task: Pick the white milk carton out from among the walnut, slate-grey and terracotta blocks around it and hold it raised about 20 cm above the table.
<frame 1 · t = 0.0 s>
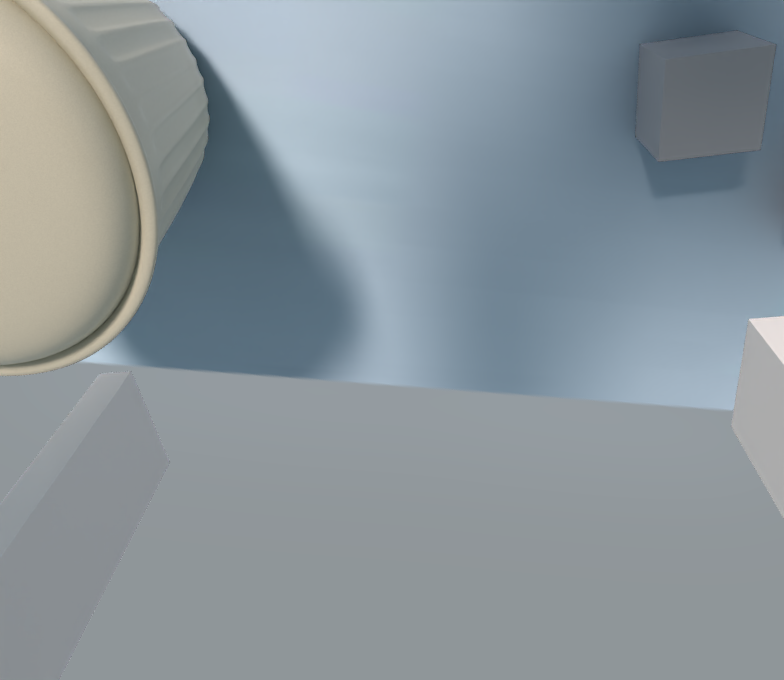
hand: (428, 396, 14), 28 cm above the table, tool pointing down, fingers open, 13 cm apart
slate grey block: (683, 85, 37), on the table
canister: (108, 90, 39), on the table
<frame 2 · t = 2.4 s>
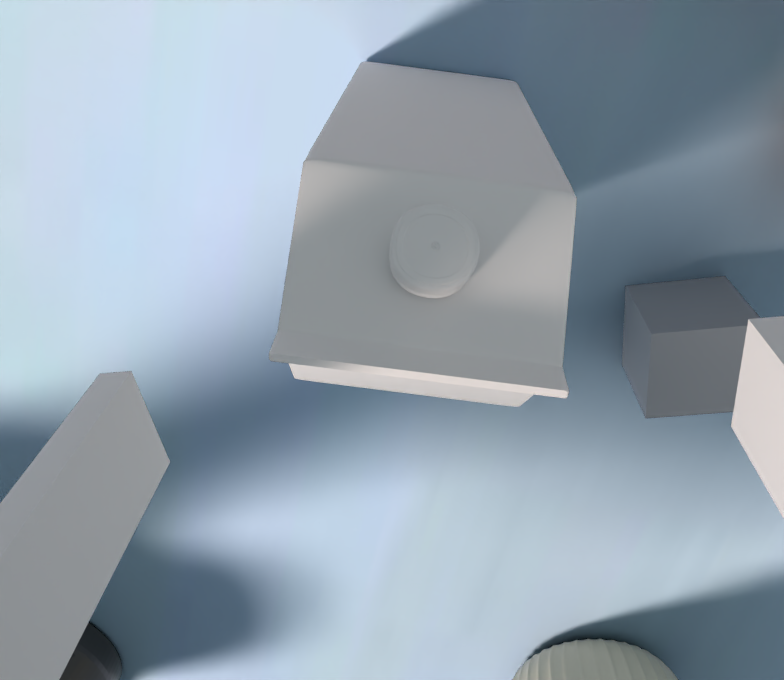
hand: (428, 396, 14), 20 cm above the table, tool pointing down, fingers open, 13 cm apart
slate grey block: (670, 321, 36), on the table
canister: (587, 674, 53), on the table
milk carton: (428, 147, 32), on the table
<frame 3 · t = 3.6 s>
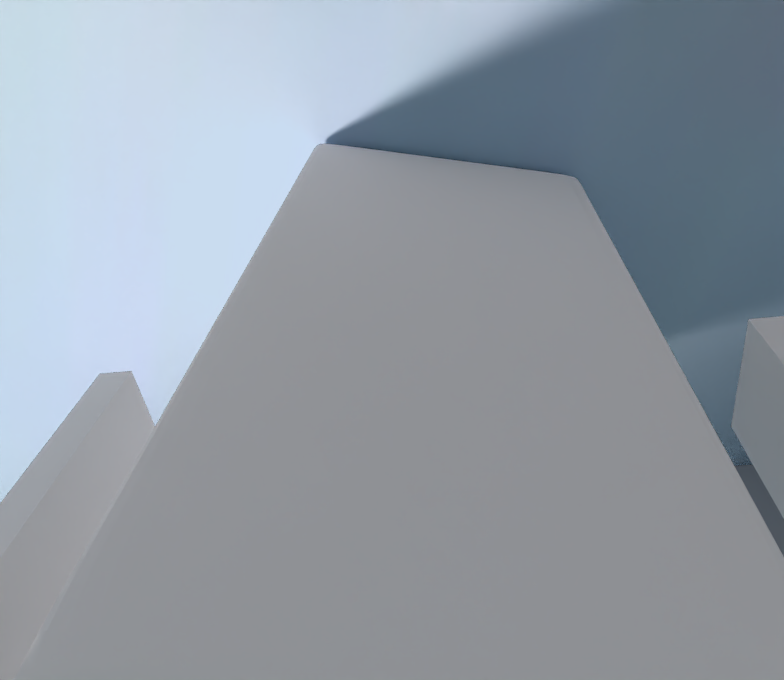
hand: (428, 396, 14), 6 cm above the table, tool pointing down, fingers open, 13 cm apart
milk carton: (429, 271, 20), on the table
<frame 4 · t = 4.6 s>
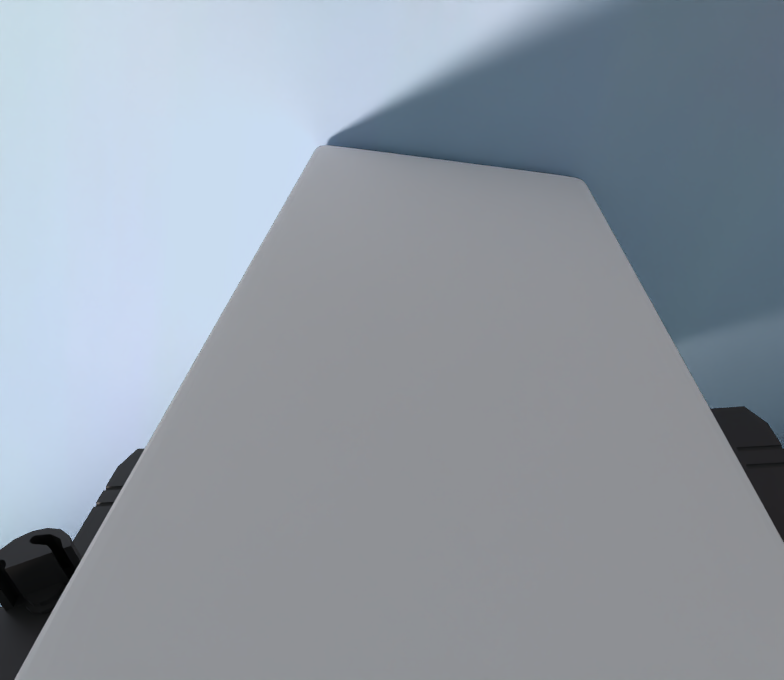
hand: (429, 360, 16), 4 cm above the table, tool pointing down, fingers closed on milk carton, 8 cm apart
milk carton: (432, 274, 19), on the table, touching gripper
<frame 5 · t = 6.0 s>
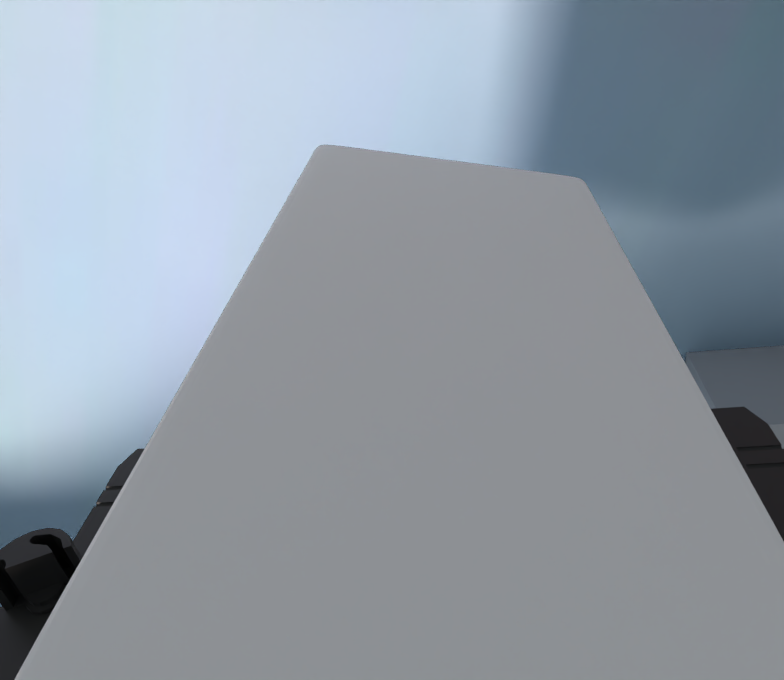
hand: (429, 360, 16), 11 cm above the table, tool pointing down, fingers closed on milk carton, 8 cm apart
slate grey block: (739, 393, 29), on the table
milk carton: (432, 274, 19), point 7 cm above the table, touching gripper
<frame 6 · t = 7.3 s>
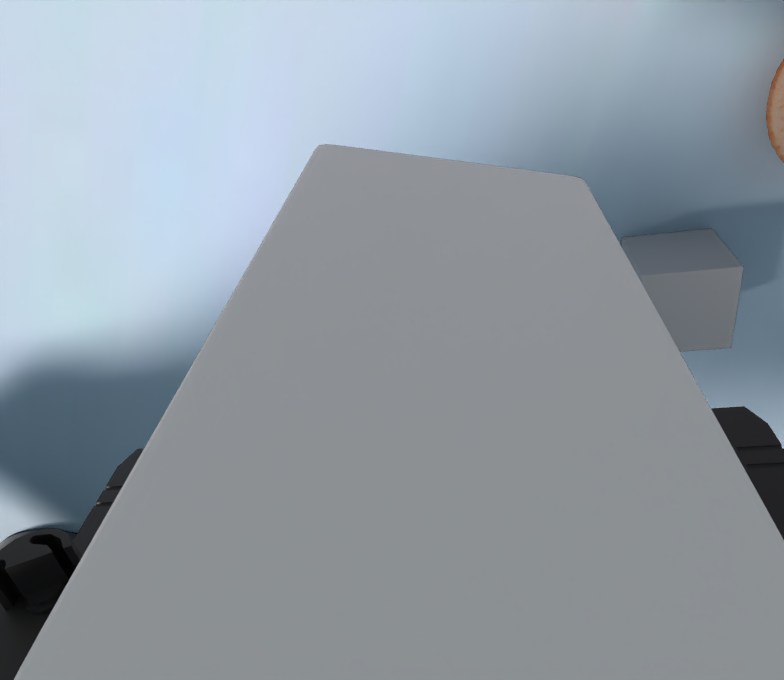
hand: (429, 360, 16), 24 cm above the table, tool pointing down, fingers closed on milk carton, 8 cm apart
slate grey block: (662, 270, 40), on the table
milk carton: (432, 274, 19), point 19 cm above the table, touching gripper
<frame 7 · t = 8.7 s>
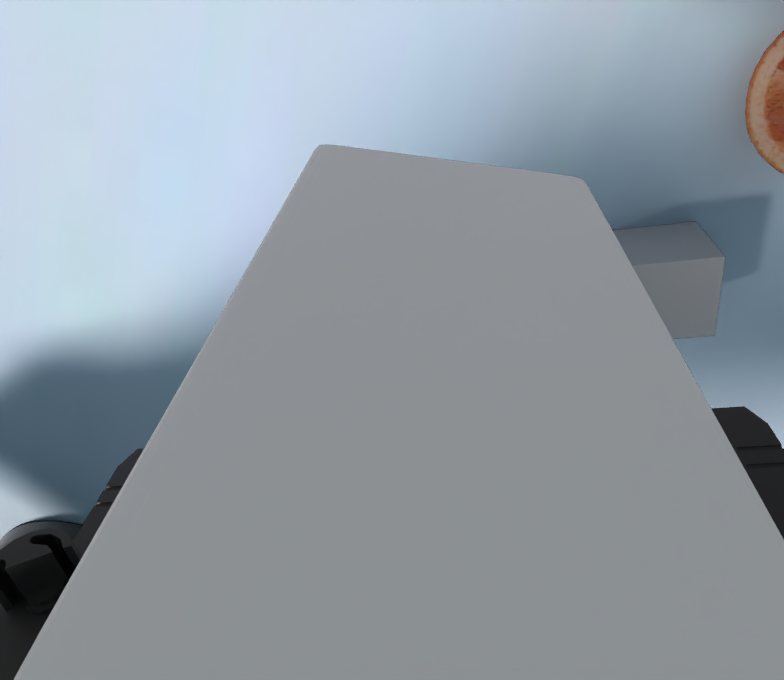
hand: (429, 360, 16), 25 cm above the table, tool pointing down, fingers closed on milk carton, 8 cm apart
slate grey block: (649, 262, 41), on the table
milk carton: (432, 274, 19), point 21 cm above the table, touching gripper
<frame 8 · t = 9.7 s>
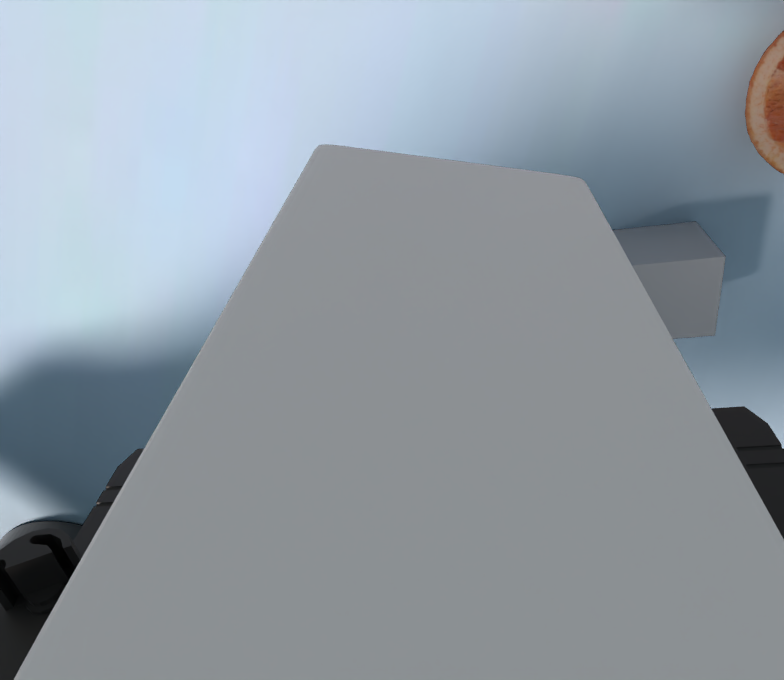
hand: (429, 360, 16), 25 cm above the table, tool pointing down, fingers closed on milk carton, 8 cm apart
slate grey block: (649, 262, 41), on the table
milk carton: (432, 274, 19), point 21 cm above the table, touching gripper
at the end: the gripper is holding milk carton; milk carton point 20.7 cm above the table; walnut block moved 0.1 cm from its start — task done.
